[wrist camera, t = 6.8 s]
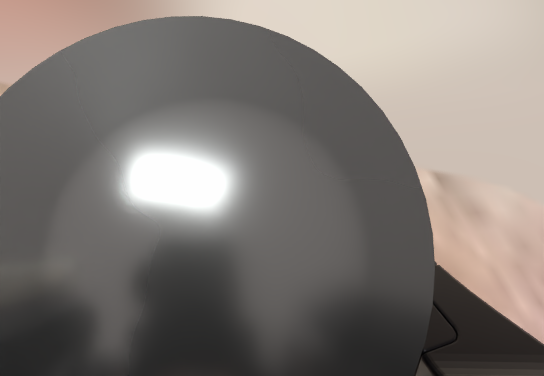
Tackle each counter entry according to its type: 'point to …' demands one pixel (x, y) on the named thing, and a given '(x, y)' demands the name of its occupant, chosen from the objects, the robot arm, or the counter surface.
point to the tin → (206, 212)
